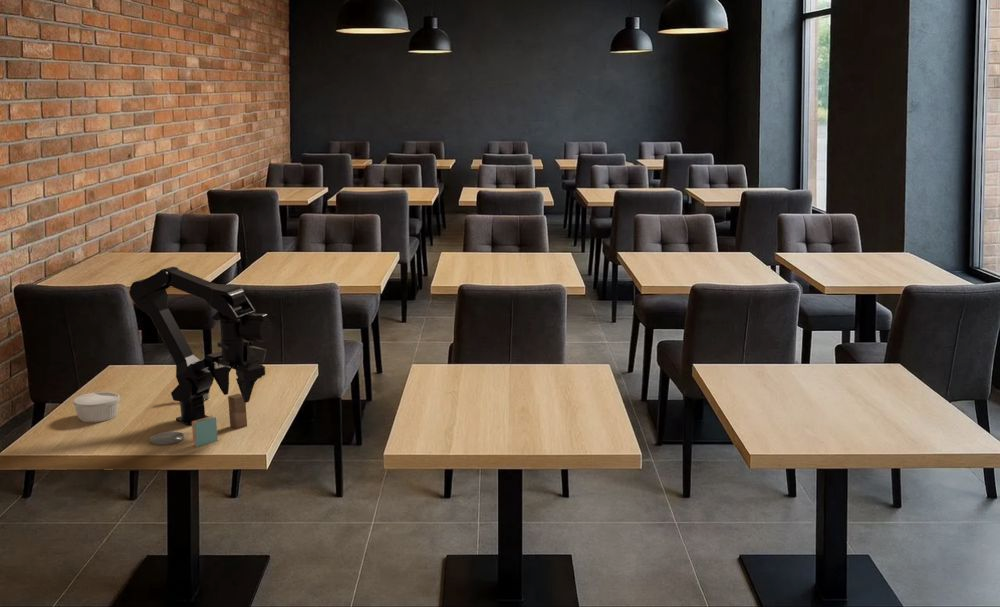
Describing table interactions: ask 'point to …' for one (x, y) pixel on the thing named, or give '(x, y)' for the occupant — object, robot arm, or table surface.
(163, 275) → the robot arm
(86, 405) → the ramekin
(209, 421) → the tile
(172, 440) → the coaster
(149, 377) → the table surface
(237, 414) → the block
